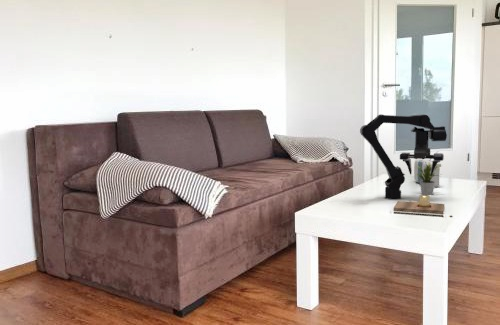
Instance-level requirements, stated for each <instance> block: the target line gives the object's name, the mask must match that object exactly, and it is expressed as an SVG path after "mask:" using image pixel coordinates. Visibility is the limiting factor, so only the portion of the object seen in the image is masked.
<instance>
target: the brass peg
mask: <svg viewBox="0 0 500 325" xmlns="http://www.w3.org/2000/svg"><path fill="white" fill-rule="evenodd" d="M418 196H419V198H418V199H419V200H418V201H419V207H424V208H429V203H430V197H431V195H423V194H420V195H418Z"/></svg>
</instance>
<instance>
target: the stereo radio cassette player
mask: <svg viewBox="0 0 500 325" xmlns="http://www.w3.org/2000/svg"><path fill="white" fill-rule="evenodd" d="M425 162H426V163H425ZM429 162H430V165H431V167H432V163H433V160H432V159H415V160H414V167H413V168H414V169H413V171H414V174H413V175H414V176H413V177H414V178H413V179H414V181H415V182H416V183H418V184H420V181H423V180H422V179H421V178H420V177H419V176H417V174H419V175H420V172H421V171H420V170H419V169H418V168H419V167H420V168H421V169H422V171H423V173H424V168H426V164H427V165H428V164H429ZM417 165H418V166H419V167H418V166H417ZM438 165H439V166H440V167H442V163H440V162H438V163H437V165H436V166H438ZM436 166H435V167H436ZM440 167H437V168H436V169H435V170H436V171H435V170H434V172H433V173H435V172H436V173H435V174H434V175H439V176H437V177H436V176H434V177H432V178H431V180H430V181H434V182H435V185H434V188H439V186H440V169H441V168H440ZM431 170H432V168H431ZM430 173H431V172H430ZM421 174H422V172H421ZM422 175H423V174H422ZM423 177H424V176H423ZM424 179H425V178H424Z"/></svg>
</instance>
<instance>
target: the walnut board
mask: <svg viewBox="0 0 500 325" xmlns="http://www.w3.org/2000/svg"><path fill="white" fill-rule="evenodd" d="M444 212H445V203H439V202H438V203H436V202H433V203H432V202H429V208H424V207H419V200H408V201H401V200H397V201H396V203H395V205H394V207H393V214H395V215H406V216H407V215H408V216H409V215H410V216H419V217H420V216H421V217H423V216H424V217H439V218H444Z"/></svg>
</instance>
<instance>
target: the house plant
mask: <svg viewBox="0 0 500 325" xmlns="http://www.w3.org/2000/svg"><path fill="white" fill-rule="evenodd" d="M425 163H426V162H425ZM417 166H418V165H417ZM418 167H419V166H418ZM437 167H440V166H439V165H438V166H436V167H435V169H436V168H437ZM431 168H432V167H431V165H430V162H429V164H428V165H427V164H426V168H424V173H423V171H422V169H421V168H420V167H419V168H418V169H419V170H420V171H421V172H422V174H423V175H422V174H421V172H420V175H419V174H417V176H419V177H420V178H421V179H422V180H423V181H420V183H419V185H420V192H421V195H428V196H432V195H433V194H434V189H435V187H434V185H435V182H434V181H430V180H431V178H432V177H434V176H436V177H437V176H439V178H440V177H441V175H443V173H442V174H441V173H439V175H434V174H435V173H436V172H435V173H433V175H432V176H431V173H430V172H431ZM435 169H434V170H435ZM435 171H436V170H435ZM423 176H424V177H423ZM424 178H425V179H424Z"/></svg>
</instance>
